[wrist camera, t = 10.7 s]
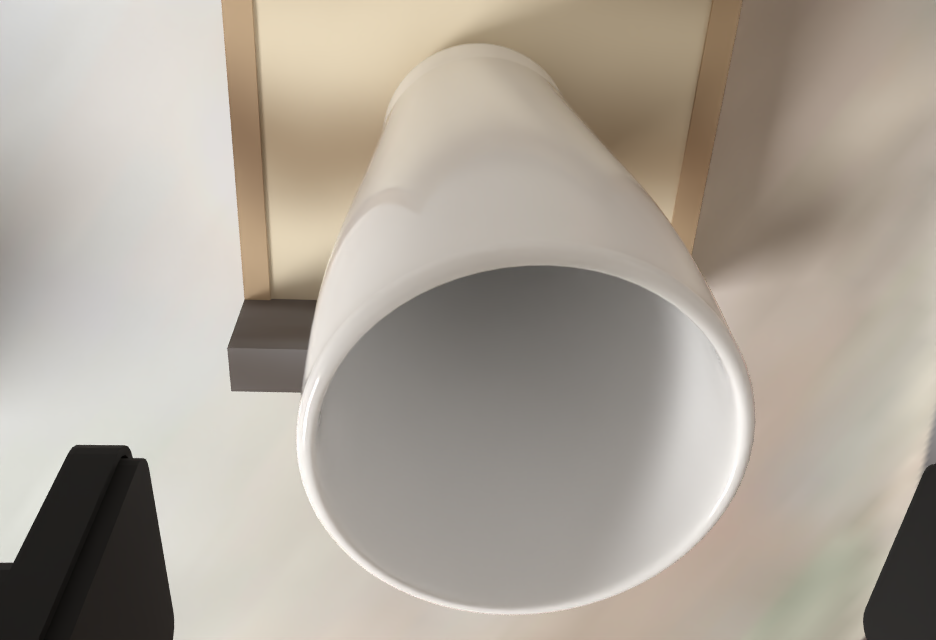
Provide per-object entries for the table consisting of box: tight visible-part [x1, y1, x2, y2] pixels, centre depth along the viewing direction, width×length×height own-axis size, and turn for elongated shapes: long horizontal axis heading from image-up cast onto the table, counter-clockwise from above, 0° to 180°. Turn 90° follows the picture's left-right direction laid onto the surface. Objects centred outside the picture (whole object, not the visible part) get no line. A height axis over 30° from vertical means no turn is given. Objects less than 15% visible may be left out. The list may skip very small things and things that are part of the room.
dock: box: [221, 0, 743, 393], centre depth 26 cm, size 14×14×6 cm
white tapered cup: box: [296, 43, 755, 615], centre depth 19 cm, size 7×7×15 cm
